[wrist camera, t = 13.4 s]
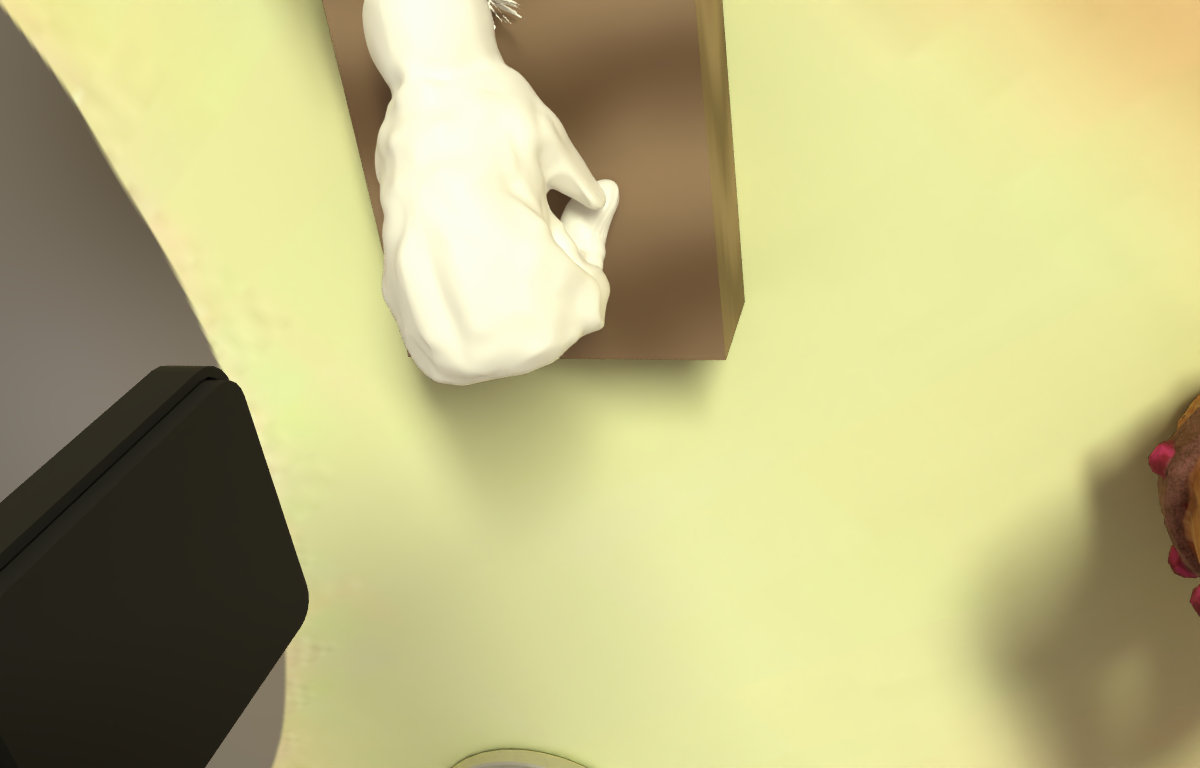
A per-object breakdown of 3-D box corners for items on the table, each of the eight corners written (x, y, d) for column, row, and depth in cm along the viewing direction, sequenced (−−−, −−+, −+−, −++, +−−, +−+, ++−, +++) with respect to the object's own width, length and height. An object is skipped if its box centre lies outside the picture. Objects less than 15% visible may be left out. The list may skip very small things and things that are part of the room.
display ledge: (744, 301, 43) (711, 405, 37) (451, 302, 47) (375, 398, 40) (704, -236, 34) (651, -218, 28) (346, -187, 38) (228, -161, 32)
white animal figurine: (388, 428, 33) (210, 18, 29) (493, 319, 41) (364, -22, 37) (583, 390, 31) (420, -63, 27) (658, 281, 38) (539, -88, 34)
